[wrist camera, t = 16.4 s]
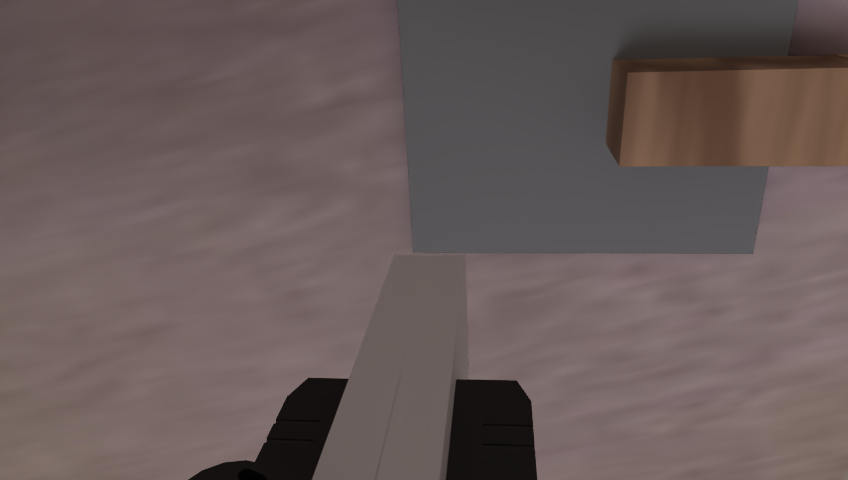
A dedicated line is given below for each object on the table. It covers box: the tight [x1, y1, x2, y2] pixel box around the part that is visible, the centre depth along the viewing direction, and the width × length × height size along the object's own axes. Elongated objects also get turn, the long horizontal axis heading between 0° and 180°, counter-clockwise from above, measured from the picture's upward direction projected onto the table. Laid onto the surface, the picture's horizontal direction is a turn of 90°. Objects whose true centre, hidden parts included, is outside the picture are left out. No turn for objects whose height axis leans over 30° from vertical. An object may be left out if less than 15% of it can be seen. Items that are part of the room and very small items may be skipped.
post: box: [606, 54, 848, 167], centre depth 31 cm, size 4×4×12 cm
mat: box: [398, 0, 798, 254], centre depth 34 cm, size 20×18×1 cm
